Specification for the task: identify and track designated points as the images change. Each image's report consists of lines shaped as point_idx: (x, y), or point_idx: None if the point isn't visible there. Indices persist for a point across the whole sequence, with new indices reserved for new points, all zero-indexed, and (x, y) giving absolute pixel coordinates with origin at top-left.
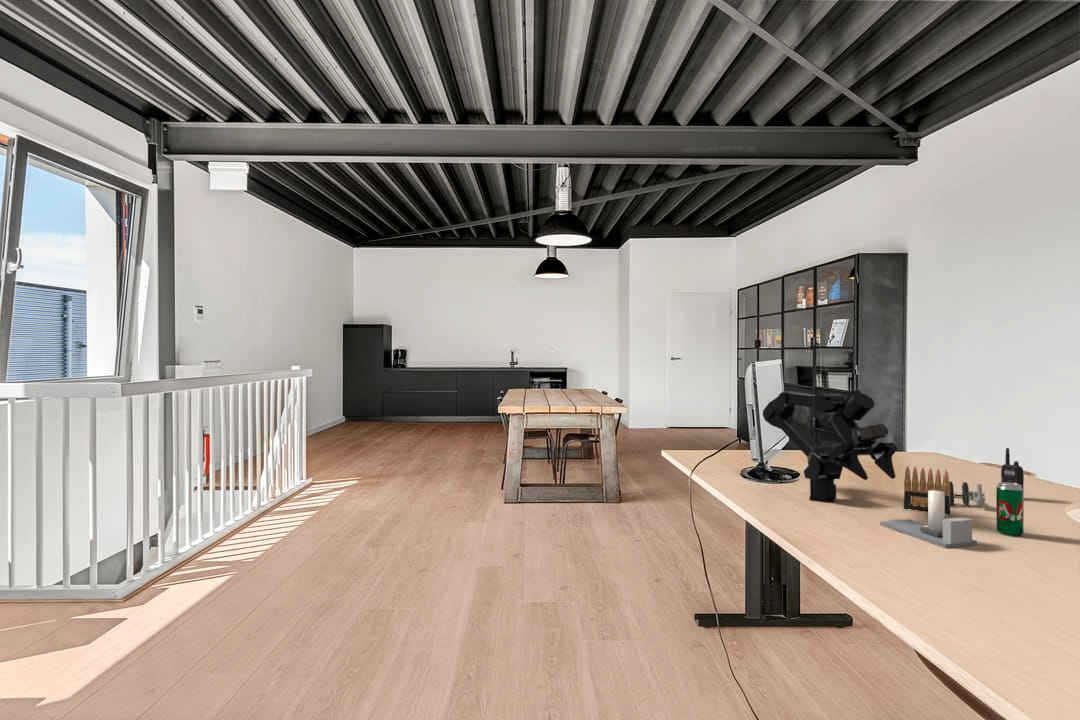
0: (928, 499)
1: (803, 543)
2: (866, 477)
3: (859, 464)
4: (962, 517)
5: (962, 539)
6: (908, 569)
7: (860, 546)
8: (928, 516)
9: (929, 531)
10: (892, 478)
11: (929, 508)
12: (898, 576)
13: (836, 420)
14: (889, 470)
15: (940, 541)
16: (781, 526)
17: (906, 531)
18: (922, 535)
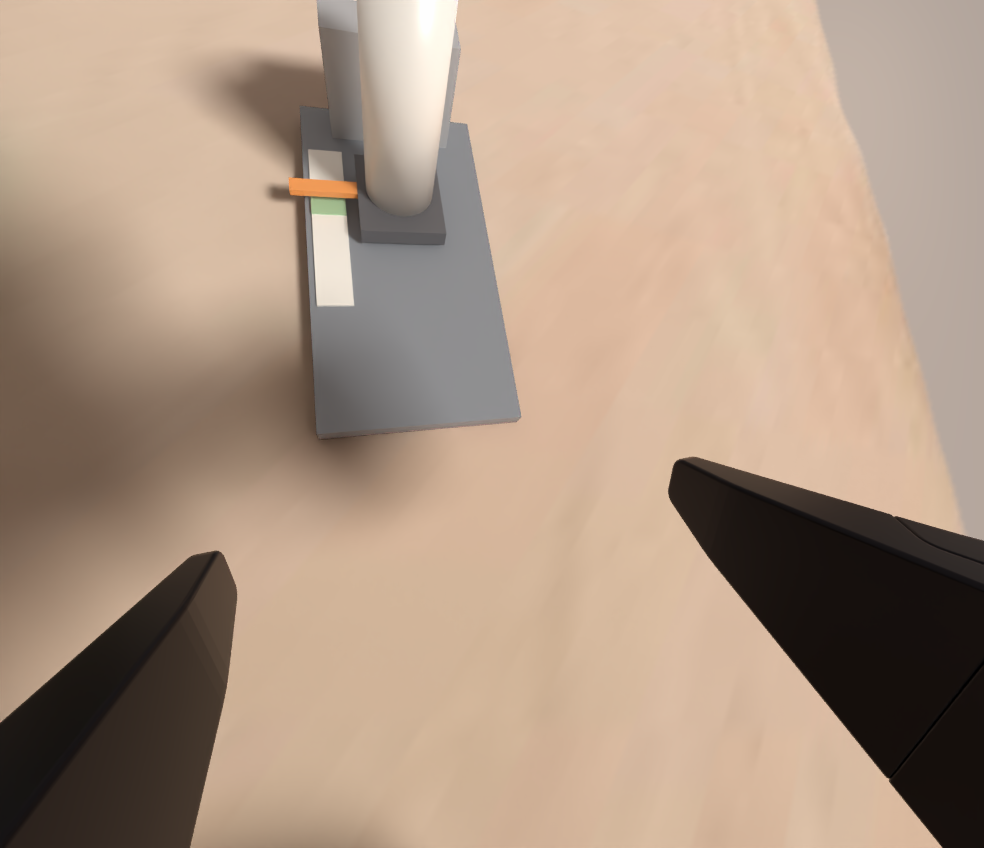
0: (450, 44)
1: (872, 292)
2: (699, 458)
3: (915, 536)
4: (328, 27)
5: None
6: (686, 77)
7: (726, 228)
8: (435, 151)
9: (439, 196)
10: (234, 583)
11: (445, 96)
12: (729, 63)
13: None
14: (177, 680)
15: (458, 148)
16: (912, 472)
17: (493, 275)
18: (471, 214)
